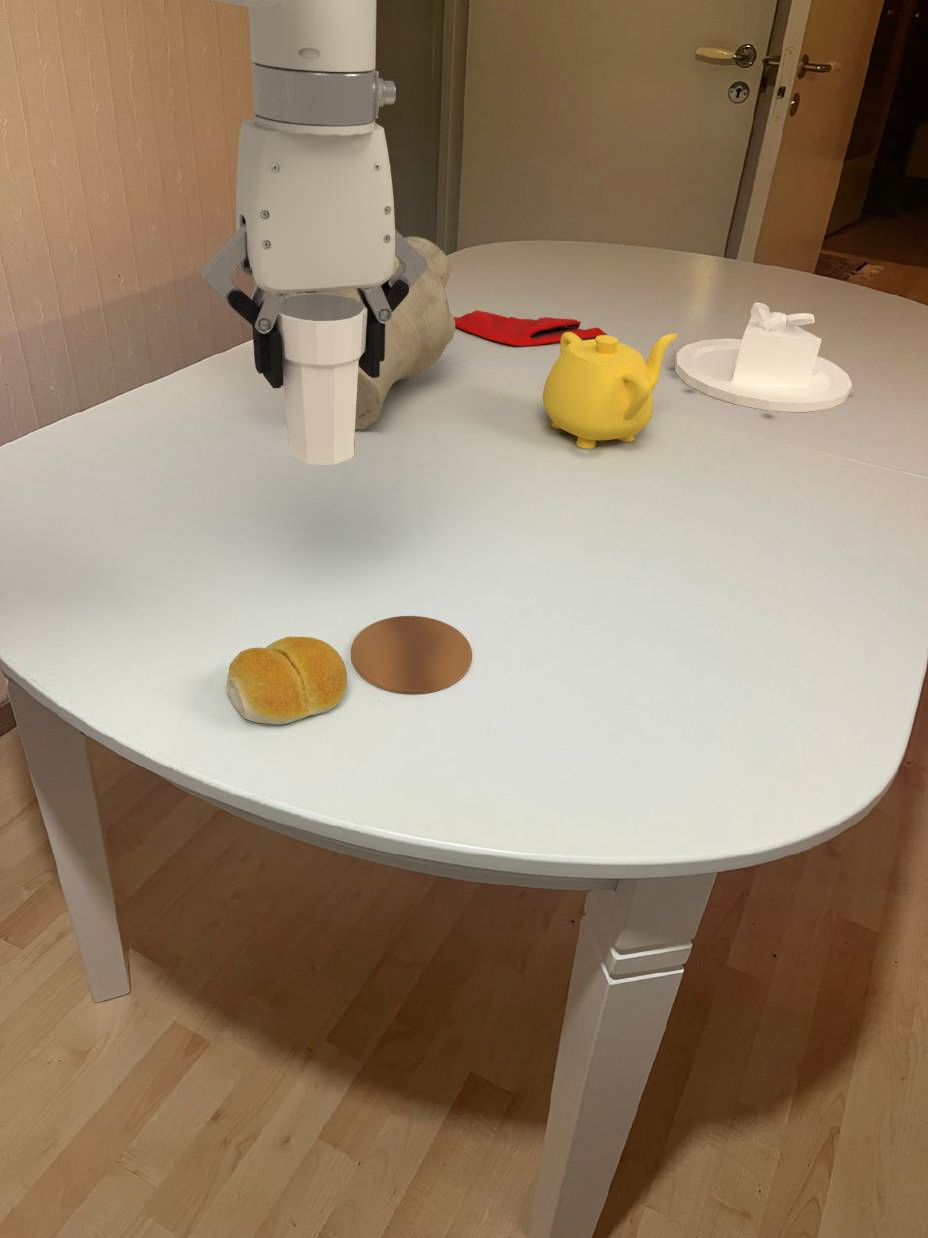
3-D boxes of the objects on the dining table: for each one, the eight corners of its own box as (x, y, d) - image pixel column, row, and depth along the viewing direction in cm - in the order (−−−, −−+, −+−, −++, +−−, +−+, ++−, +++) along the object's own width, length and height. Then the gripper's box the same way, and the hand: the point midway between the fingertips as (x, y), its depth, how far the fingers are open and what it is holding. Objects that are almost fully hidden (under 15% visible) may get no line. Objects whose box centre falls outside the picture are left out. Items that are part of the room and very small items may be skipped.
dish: (875, 416, 125) (903, 334, 118) (691, 405, 124) (710, 321, 117) (818, 352, 145) (840, 278, 138) (660, 342, 144) (674, 267, 137)
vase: (430, 359, 96) (483, 229, 113) (229, 301, 95) (314, 180, 113) (404, 506, 112) (453, 373, 130) (232, 457, 112) (305, 331, 130)
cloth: (425, 332, 141) (426, 317, 139) (453, 307, 151) (454, 293, 150) (593, 360, 135) (595, 345, 134) (609, 332, 146) (612, 318, 145)
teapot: (647, 465, 108) (666, 368, 101) (528, 443, 111) (539, 347, 104) (660, 420, 119) (679, 329, 112) (552, 401, 122) (563, 311, 115)
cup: (263, 458, 70) (254, 311, 63) (303, 425, 75) (298, 287, 68) (343, 476, 68) (342, 328, 62) (378, 442, 73) (381, 302, 67)
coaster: (375, 706, 71) (375, 702, 71) (334, 632, 78) (334, 629, 78) (492, 677, 75) (492, 674, 74) (442, 610, 82) (442, 606, 82)
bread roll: (364, 703, 71) (364, 663, 69) (254, 742, 67) (250, 700, 65) (318, 645, 77) (317, 606, 74) (213, 677, 72) (208, 637, 70)
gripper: (418, 93, 64) (410, 348, 74) (160, 88, 57) (190, 369, 67) (466, 110, 58) (449, 382, 69) (186, 107, 52) (215, 409, 62)
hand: (321, 374), depth 68 cm, fingers closed on cup, 6 cm apart
